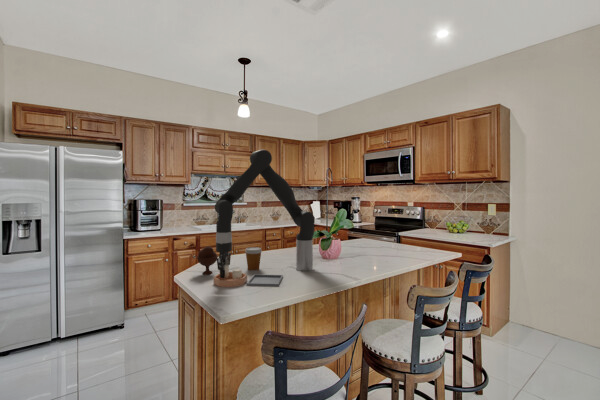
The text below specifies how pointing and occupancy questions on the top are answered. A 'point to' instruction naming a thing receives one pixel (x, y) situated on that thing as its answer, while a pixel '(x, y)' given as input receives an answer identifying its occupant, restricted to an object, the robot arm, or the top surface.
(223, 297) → the top surface
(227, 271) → the pebble
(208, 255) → the ice cream bowl
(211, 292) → the top surface
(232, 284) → the terracotta bowl
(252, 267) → the disposable coffee cup
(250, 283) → the tray
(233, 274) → the pebble
